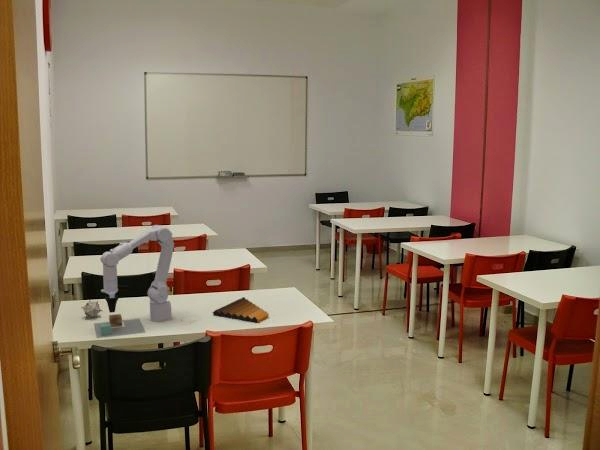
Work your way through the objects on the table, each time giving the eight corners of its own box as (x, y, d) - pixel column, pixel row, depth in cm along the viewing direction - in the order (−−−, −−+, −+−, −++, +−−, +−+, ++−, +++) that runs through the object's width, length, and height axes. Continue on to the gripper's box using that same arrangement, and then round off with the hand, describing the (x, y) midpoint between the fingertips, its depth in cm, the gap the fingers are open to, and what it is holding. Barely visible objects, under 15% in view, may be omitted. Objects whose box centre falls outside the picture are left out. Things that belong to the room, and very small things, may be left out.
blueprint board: (139, 320, 278) (139, 318, 278) (145, 334, 260) (145, 331, 260) (93, 325, 271) (93, 323, 271) (96, 339, 253) (96, 337, 252)
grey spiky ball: (91, 326, 280) (80, 313, 274) (85, 315, 286) (75, 303, 280) (108, 315, 283) (98, 302, 276) (102, 305, 289) (92, 292, 282)
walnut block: (120, 322, 272) (120, 313, 271) (122, 325, 267) (121, 317, 267) (109, 323, 270) (108, 315, 269) (110, 327, 265) (110, 318, 265)
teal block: (110, 331, 260) (110, 322, 259) (111, 334, 256) (110, 325, 256) (100, 332, 259) (100, 323, 258) (101, 335, 255) (101, 326, 254)
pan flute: (240, 302, 308) (212, 316, 286) (240, 296, 308) (212, 309, 286) (283, 309, 297) (257, 324, 275) (283, 303, 297) (257, 317, 275)
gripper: (99, 276, 266) (100, 305, 269) (101, 284, 253) (102, 315, 255) (116, 275, 269) (117, 304, 271) (119, 282, 256) (120, 313, 258)
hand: (111, 309), depth 263 cm, fingers open, 7 cm apart
